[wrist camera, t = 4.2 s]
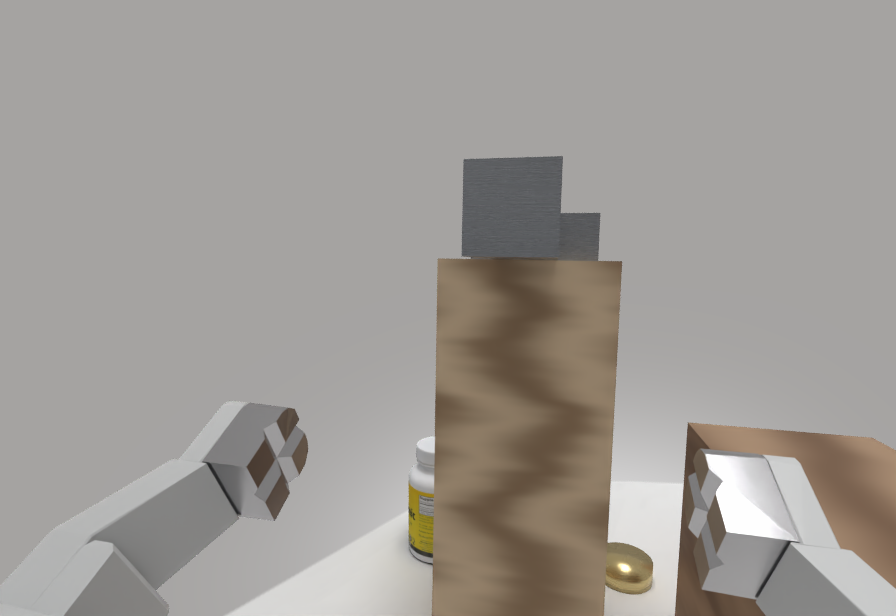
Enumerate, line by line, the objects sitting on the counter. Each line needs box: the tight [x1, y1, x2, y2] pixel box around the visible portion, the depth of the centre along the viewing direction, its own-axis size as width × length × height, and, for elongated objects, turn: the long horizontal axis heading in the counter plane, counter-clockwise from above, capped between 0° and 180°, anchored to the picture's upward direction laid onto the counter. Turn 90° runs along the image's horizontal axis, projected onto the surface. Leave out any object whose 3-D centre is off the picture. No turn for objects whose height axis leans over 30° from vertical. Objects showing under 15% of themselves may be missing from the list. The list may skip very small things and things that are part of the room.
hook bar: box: [462, 156, 600, 261], centre depth 25 cm, size 21×8×3 cm, turn 167°
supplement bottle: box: [409, 436, 435, 563], centre depth 43 cm, size 5×5×10 cm
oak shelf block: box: [432, 259, 622, 616], centre depth 31 cm, size 9×13×26 cm
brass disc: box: [605, 542, 653, 594], centre depth 40 cm, size 4×4×2 cm
